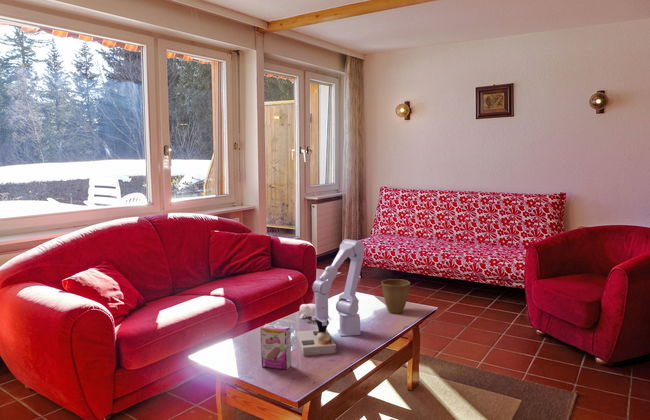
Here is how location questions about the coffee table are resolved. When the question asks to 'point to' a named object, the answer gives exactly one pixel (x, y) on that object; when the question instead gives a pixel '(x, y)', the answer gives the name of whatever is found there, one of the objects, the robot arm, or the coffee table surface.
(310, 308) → the white animal figurine
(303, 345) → the trap board
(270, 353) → the candy bar box
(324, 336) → the beige rounded knob
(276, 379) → the coffee table surface
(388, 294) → the plant pot
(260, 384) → the coffee table surface
